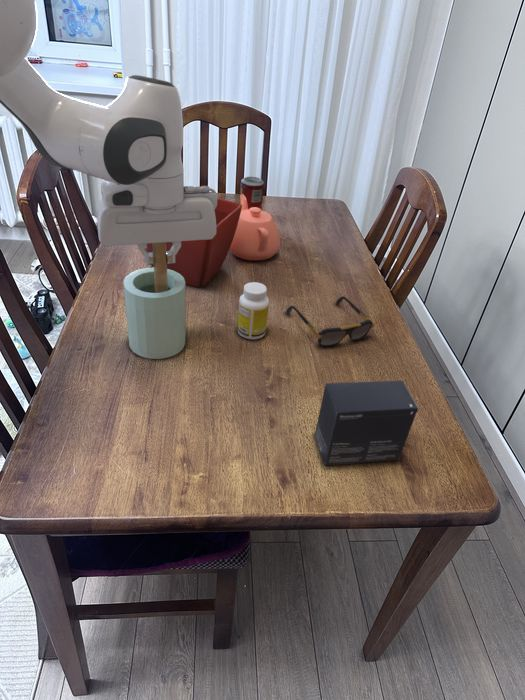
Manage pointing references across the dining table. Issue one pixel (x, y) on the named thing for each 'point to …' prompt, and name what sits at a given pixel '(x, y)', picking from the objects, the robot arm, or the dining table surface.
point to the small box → (364, 422)
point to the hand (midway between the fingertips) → (160, 262)
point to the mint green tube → (155, 314)
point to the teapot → (255, 234)
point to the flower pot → (206, 247)
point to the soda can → (252, 191)
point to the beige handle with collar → (160, 267)
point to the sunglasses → (339, 328)
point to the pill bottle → (253, 311)
